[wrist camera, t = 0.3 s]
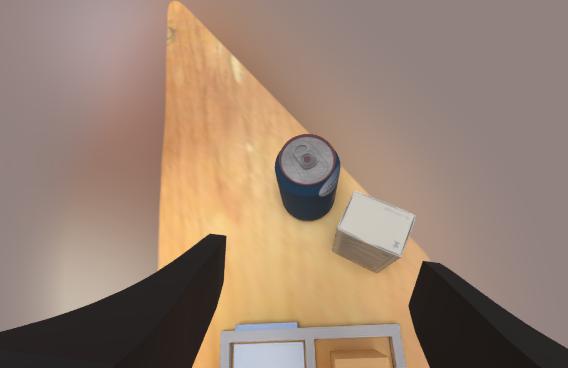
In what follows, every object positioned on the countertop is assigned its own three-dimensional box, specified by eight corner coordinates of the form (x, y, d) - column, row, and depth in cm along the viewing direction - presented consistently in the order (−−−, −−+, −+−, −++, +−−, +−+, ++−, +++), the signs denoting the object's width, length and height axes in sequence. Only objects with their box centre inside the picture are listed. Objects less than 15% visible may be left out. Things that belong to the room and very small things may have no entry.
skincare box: (389, 242, 40) (420, 214, 29) (376, 275, 39) (403, 259, 28) (343, 221, 42) (355, 187, 31) (329, 252, 41) (336, 228, 29)
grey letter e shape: (408, 401, 34) (413, 406, 32) (221, 406, 35) (217, 411, 33) (395, 317, 37) (399, 318, 35) (224, 325, 38) (220, 325, 37)
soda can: (344, 206, 43) (355, 168, 32) (299, 232, 42) (295, 203, 31) (316, 166, 45) (317, 117, 34) (273, 190, 44) (260, 148, 33)
